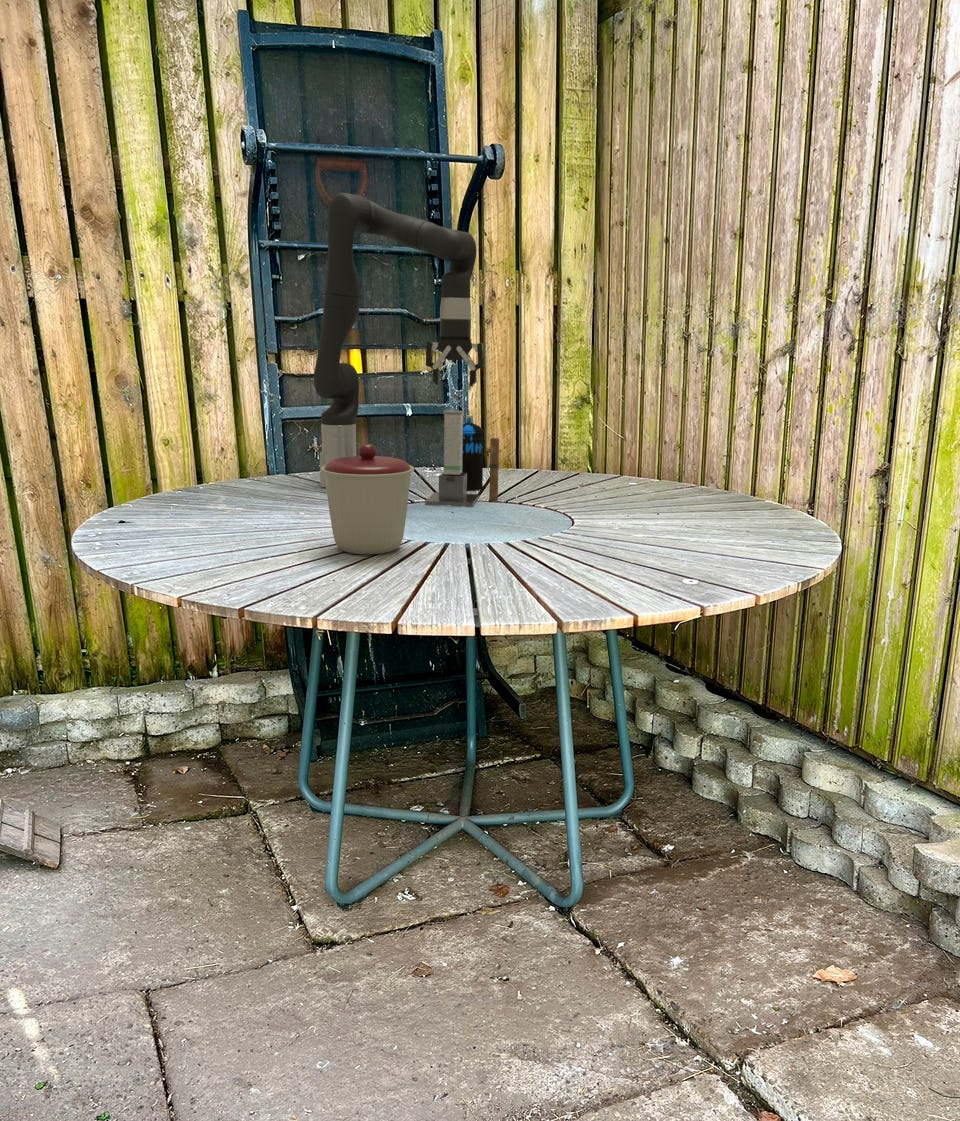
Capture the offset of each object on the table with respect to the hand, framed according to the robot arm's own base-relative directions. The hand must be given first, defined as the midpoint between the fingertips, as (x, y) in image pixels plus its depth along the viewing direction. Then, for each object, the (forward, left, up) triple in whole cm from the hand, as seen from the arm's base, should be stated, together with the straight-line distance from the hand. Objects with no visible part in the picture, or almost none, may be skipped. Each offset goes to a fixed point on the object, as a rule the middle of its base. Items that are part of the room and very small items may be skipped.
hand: (454, 385), depth 221 cm
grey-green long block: (0, 0, -22) cm, 22 cm away
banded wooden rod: (+10, +4, -29) cm, 31 cm away
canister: (-8, -53, -29) cm, 61 cm away
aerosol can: (+1, +20, -29) cm, 36 cm away
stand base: (0, 0, -29) cm, 29 cm away
